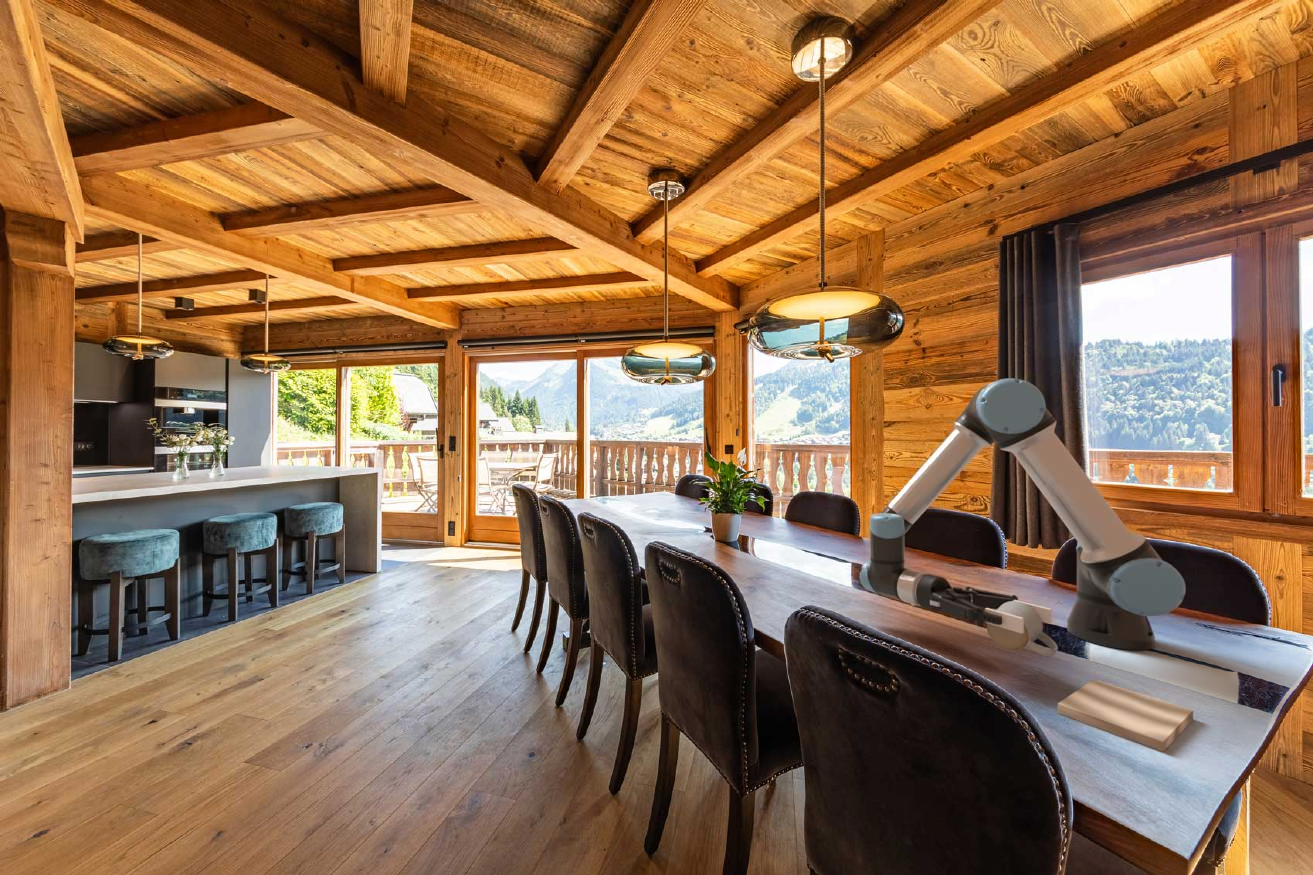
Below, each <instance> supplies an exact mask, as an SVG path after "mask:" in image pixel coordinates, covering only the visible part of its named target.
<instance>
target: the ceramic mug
mask: <svg viewBox="0 0 1313 875" xmlns="http://www.w3.org/2000/svg"><path fill="white" fill-rule="evenodd" d="M1018 601H1019V600H1018ZM1018 601H1009V602H1006V603H1004V604H1002V605H1001V606H1000V607H999V608H998V609H996V610H997V611H1000V612H1004V613H1008V614H1011V615H1015V616H1019V617H1022V618H1024V633H1022V634H1021V633H1018V632H1015V631H1011V630H1008V629H1005V628H1001V627H998V626H995V625H991V624H988V623H986V630H987V634H988V636H989V637H990V638H991V640H992V642H994V643H995V644H996V645H997V646H999V647H1001V648H1003V649H1006V650H1008V651H1016V650H1022V649H1024V648H1026V647H1027V648H1028V649H1030V650H1031V651H1033V652H1035V653H1037V654H1039V655H1041V656H1044V657H1053V656H1055V655H1056V653H1057V651H1058V650H1059V646H1058V645H1057V643H1056V642H1055V640H1053V639H1052V638H1051V636H1048V635H1047V634H1046V633H1044V632H1043V629H1044V626H1043V625H1044V624H1043V622H1042V620H1041V618H1040V616H1039V615H1038V613H1037V612H1036V611H1035V610H1034V609H1033V608H1031V607H1030V606H1028V605H1026V604H1025V603H1022V602H1023V601H1022V602H1018ZM1036 640H1040V641H1041V642H1042V643H1044V644H1045V645H1046V646H1047V647H1048V648H1045V647H1043V646H1041V645H1039V644H1037V643H1036V642H1035V641H1036Z"/></svg>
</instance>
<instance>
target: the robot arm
mask: <svg viewBox="0 0 1313 875" xmlns="http://www.w3.org/2000/svg"><path fill="white" fill-rule="evenodd" d="M1056 425H1057V420H1056V419H1055V418H1054V417H1053V415H1052V414H1051V413H1050V411H1049V409H1047V407H1046V400H1045V397H1044V395H1043V394H1042V391H1041V390H1039V388H1038V387H1037V386H1036V385H1034V384H1032V383H1031V382H1029V381H1027V380H1023V379H1020V378H1013V377H1012V378H1001V379H998V380H995V381H993V382H991V383H989V384H987V385H985V386H983V387H982V388H979V390H977V392H975V393H974V395H972V397H971V399H970V400H969V402H968V404H967V405H966V407H965V408H964V410H963V411H962V412H961V414H960V415H959V416H958V418H957V419H956V420H955V421H954V422H953V426H954V428H953V430H952V431H951V432H950V433H949V435H948V436H947V437H946V438H945V439H944V440H943V442H941V444H940V445H939V446H938V447H937V448H936V449H935V451H934V452H933V453H932V454H931V455H930V456H929V457H928V459H927V460H926V461H925V462H924V463H923V464H922V465H921V466H920V468H919V469H918V470H917V471H916V472H915V473H914V474H913V476H912V477H911V478H910V479H909V481H907V482H906V484H905V485H904V486H903V487H901V490H899V492H898V493H897V494H896V495H895V496H894V497H893V498H892V500H891V501H890V502H889V503H888V505H887V506H886V507H884V509H883V510H882V511H881V513H880V512H879V513H873V514H872V515H871V516H870V519H869V539H870V543H869V544H870V545H869V546H870V559H869V560H867V561H865V562H864V563H863V565H862V566H861V571H860V572H859V580H860V584H861V585H862V586H863V588H864V589H866V590H867V591H870V592H873V593H875V594H877V595H878V596H882V597H883V596H884V597H887V598H891V599H894V600H897V601H900V602H904V603H907V604H910V605H911V606H912V607H916V606H918V607H922V608H924V609H927V610H929V611H933V612H937V613H938V612H942V613H945V614H947V615H950V616H952V617H954V618H956V619H959V620H962V621H965V622H967V623H969V624H974V623H975V622H976V626H978V627H984V623H985V624H987V623H988V624H991V625H995V626H998V627H1001V628H1005V629H1008V630H1011V631H1015V632H1018V633H1021V634H1022V633H1024V618H1022V617H1019V616H1015V615H1011V614H1008V613H1004V612H1000V611H997V609H998V608H999V607H1000V606H1001V605H1002V604H1004V603H1006V602H1009V601H1018V602H1022V603H1025V604H1026V605H1028V606H1030V607H1031V608H1033V609H1034V610H1035V611H1036V612H1037V613H1038V615H1039V616H1040V618H1041V620H1042V623H1044V624H1049V625H1050V624H1052V622H1053V621H1052V615H1053V614H1052V610H1053V609H1052V608H1050V607H1046V606H1041V605H1038V604H1032V603H1031V602H1030V603H1029V602H1026V601H1021V600H1019V597H1018V596H1017V595H1015V594H1012V595H1009V594H1003V593H1000V592H994V591H988V590H983V589H977V588H974V587H971V586H966V587H965V589H964V588H962V587H957V586H954V587H952V586H951V584H950V583H949V581H948V580H947V579H946V578H945V577H942V576H939V575H934V574H931V573H927V572H923V571H919V570H914V569H911V568H906V567H905V534H906V533H907V532H908V531H909V529H911V527H912V526H913V525H914V523H915V522H916V521H918V520H919V518H920V517H921V515H922V514H924V512H926V510H927V509H928V508H929V507H930V506H931V505H932V503H934V502H935V501H936V499H937V498H938V497H939V496H940V495H941V494H942V493H943V492H944V491H945V489H946V488H948V486H949V485H950V484H951V483H952V482H953V481H954V480H955V479H956V478H957V476H959V474H960V473H961V472H962V471H963V470H964V469H965V468H966V467H967V466H968V464H969V463H970V462H971V461H972V460H973V459H974V458H975V457H976V455H978V453H980V451H981V450H982V449H983V448H988V447H989V448H990V447H991V446H992V444H993V443H995V444H996V445H997V446H998V448H999V449H1000V450H1001V451H1006V452H1011V453H1012V454H1013V455H1014V457H1015V458H1016V459H1017V461H1018V462H1019V464H1020V465H1021V466H1022V468H1023V469H1024V471H1025V472H1026V473H1027V474H1028V475H1029V477H1030V479H1031V480H1032V482H1034V484H1035V486H1037V488H1038V490H1039V491H1040V492H1041V493H1042V495H1043V497H1044V498H1045V499H1046V500H1047V502H1048V504H1050V506H1051V507H1052V508H1053V510H1054V511H1055V513H1056V514H1057V516H1058V517H1059V518H1060V520H1061V521H1062V522H1063V523H1064V525H1065V527H1067V529H1068V531H1069V532H1070V534H1072V536H1073V537H1074V538H1075V540H1076V541H1077V542H1076V544H1077V545H1076V547H1075V550H1076V599H1075V602H1074V604H1073V606H1072V608H1071V611H1070V612H1069V616H1068V617H1067V620H1066V623H1067V624H1066V625H1067V626H1066V627H1067V628H1066V629H1067V632H1068V633H1069V634H1070V635H1072V636H1074V637H1076V638H1078V639H1081V640H1083V641H1087V642H1089V643H1092V644H1096V645H1098V646H1099V645H1100V646H1105V647H1109V648H1113V649H1114V648H1115V649H1120V650H1130V651H1131V650H1132V651H1148V650H1152V649H1154V648H1155V646H1156V642H1155V641H1156V636H1155V633H1154V631H1153V628H1152V626H1151V623H1150V620H1149V618H1148V617H1158V616H1162V615H1166V614H1169V613H1171V612H1172V611H1174V610H1175V609H1176V608H1177V607H1179V606H1180V605H1181V604H1182V602H1183V600H1184V598H1185V595H1186V588H1187V587H1186V583H1185V579H1184V577H1183V576H1182V574H1181V573H1180V572H1179V571H1178V569H1176V568H1175V567H1174V566H1173V565H1172V564H1170V563H1168V562H1167V561H1165V560H1163V558H1161V556H1160V555H1159V554H1158V552H1157V551H1156V550H1155V549H1154V548H1153V546H1152V545H1151V543H1150V542H1149V541H1148V540H1147V538H1146V537H1145V536H1144V534H1140V533H1138V532H1132V531H1131V530H1129V529H1128V528H1127V526H1126V525H1125V524H1124V523H1123V521H1122V520H1121V519H1120V517H1119V516H1118V514H1116V512H1115V511H1114V510H1113V508H1112V507H1111V505H1110V504H1109V503H1108V502H1107V500H1106V499H1105V497H1104V496H1103V495H1102V493H1101V492H1100V491H1099V490H1098V488H1097V487H1096V485H1095V484H1094V482H1092V480H1091V479H1090V478H1089V477H1088V476H1087V474H1086V472H1085V471H1084V470H1083V468H1082V467H1081V466H1080V464H1079V463H1078V462H1077V461H1076V459H1075V458H1074V456H1073V455H1072V454H1071V452H1069V450H1068V449H1067V447H1066V446H1065V444H1064V443H1063V442H1062V441H1061V440H1060V438H1059V437H1058V436H1057V434H1056V433H1055V429H1056Z"/></svg>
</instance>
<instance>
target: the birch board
mask: <svg viewBox="0 0 1313 875" xmlns="http://www.w3.org/2000/svg"><path fill="white" fill-rule="evenodd" d="M1057 713H1058V714H1060V715H1063V716H1065V717H1068V718H1071V719H1074V720H1077V721H1078V722H1081V723H1084V724H1087V725H1089V726H1092V727H1095V728H1097V729H1100V730H1102V731H1105V732H1109V733H1111V734H1112V735H1113V734H1114V735H1116V736H1119V737H1121V738H1124V739H1127V740H1130V741H1132V742H1135V743H1138V744H1140V745H1143V746H1146V747H1148V748H1151V749H1153V750H1156V751H1159V752H1162V753H1164V752H1165V751H1166V749H1168V747H1169V746H1170V745H1171V744H1173V741H1174V740H1176V738H1177V737H1178V736H1179V735H1180V734H1181V733H1183V731H1184V730H1185V729H1186V727H1187V726H1189V724H1190V723H1191V722H1192V721H1193V720H1194V709H1191V708H1187V707H1185V706H1182V705H1181V706H1180V705H1178V704H1175V703H1172V702H1170V701H1169V702H1168V701H1165V700H1162V699H1160V698H1156V697H1153V696H1151V695H1146V694H1143V693H1141V692H1140V693H1139V692H1136V691H1134V690H1131V689H1127V688H1124V687H1121V686H1118V685H1115V684H1112V683H1108V682H1104V681H1101V680H1098V679H1095V678H1093V679H1091V680H1090V681H1089V682H1088V683H1086V684H1084V685H1082V686H1081V687H1080V688H1079V689H1077V690H1076V691H1074V692H1073V693H1071V694H1070V695H1069V696H1067V697H1065V698H1064V699H1063V700H1060V702H1057Z"/></svg>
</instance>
